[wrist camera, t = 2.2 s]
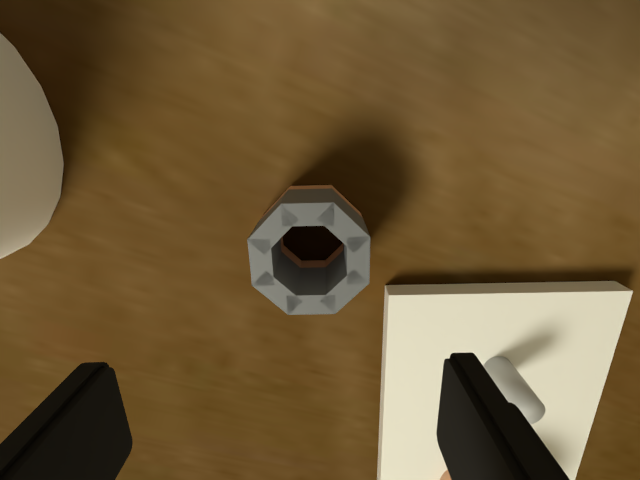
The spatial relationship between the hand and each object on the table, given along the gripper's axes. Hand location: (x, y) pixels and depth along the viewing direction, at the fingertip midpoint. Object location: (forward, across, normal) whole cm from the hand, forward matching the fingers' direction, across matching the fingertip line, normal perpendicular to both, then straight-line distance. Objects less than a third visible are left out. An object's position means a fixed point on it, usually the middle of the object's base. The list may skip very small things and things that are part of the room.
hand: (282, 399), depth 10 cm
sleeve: (+14, -1, -1) cm, 14 cm away
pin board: (+14, -14, +15) cm, 25 cm away
